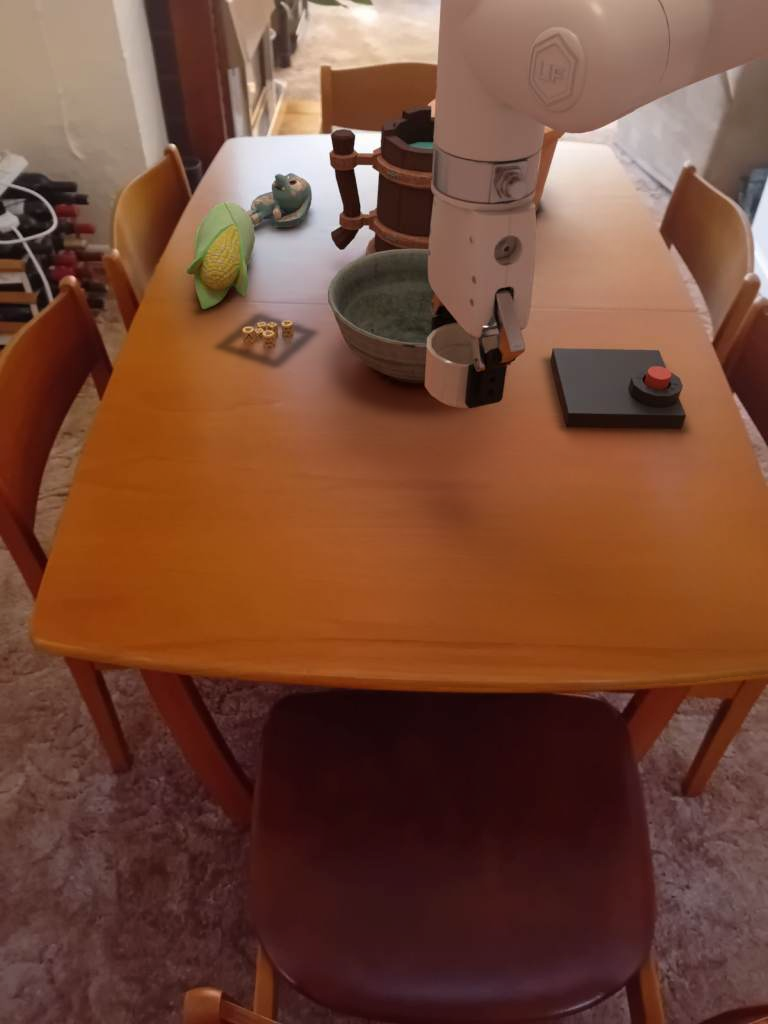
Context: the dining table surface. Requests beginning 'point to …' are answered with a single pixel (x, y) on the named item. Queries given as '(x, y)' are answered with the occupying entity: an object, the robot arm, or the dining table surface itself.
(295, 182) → the grey-green animal figurine
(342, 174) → the mug
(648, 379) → the tare button
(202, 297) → the corn
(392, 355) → the bowl
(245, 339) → the set of gold cylinders
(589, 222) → the dining table surface
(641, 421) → the black button base
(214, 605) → the dining table surface
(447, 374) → the small bowl
